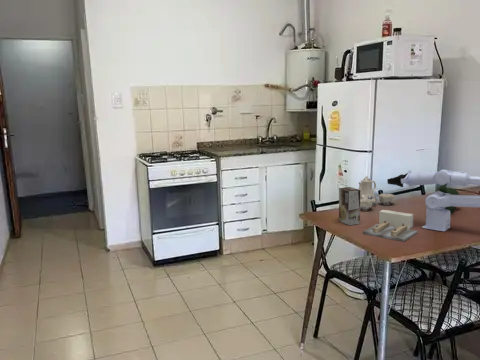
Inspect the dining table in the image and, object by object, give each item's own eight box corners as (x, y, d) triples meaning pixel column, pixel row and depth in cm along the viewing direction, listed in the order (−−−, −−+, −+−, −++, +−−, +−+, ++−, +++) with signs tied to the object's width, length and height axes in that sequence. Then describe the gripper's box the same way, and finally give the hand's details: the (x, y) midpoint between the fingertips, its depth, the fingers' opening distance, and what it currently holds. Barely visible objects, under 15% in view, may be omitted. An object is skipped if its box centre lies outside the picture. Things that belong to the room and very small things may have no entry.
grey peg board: (417, 233, 185) (417, 222, 184) (403, 241, 175) (404, 230, 174) (377, 225, 197) (377, 216, 196) (362, 233, 187) (362, 223, 186)
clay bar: (412, 227, 194) (413, 214, 193) (409, 229, 191) (409, 216, 190) (382, 222, 203) (383, 209, 202) (379, 224, 200) (379, 211, 199)
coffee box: (360, 224, 201) (361, 190, 198) (348, 225, 199) (348, 191, 196) (350, 219, 209) (350, 186, 206) (338, 220, 208) (338, 187, 205)
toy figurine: (451, 221, 205) (461, 205, 224) (453, 183, 200) (463, 170, 220) (430, 218, 211) (442, 203, 230) (431, 181, 206) (443, 169, 225)
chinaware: (367, 216, 218) (371, 185, 214) (341, 207, 231) (343, 177, 226) (398, 206, 236) (401, 177, 231) (371, 198, 248) (374, 170, 244)
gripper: (425, 168, 197) (395, 170, 206) (414, 171, 186) (383, 173, 195) (427, 183, 197) (397, 185, 206) (416, 187, 186) (385, 189, 195)
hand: (390, 180), depth 200 cm, fingers open, 7 cm apart
